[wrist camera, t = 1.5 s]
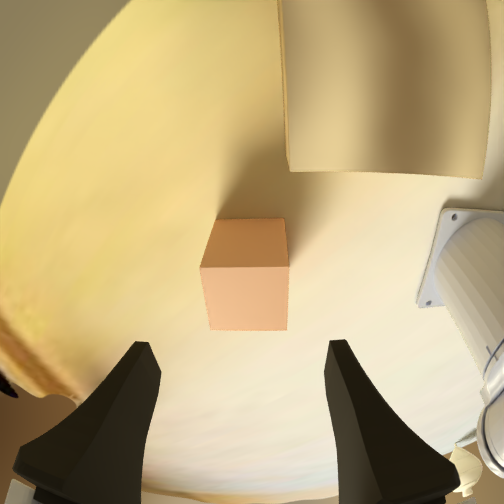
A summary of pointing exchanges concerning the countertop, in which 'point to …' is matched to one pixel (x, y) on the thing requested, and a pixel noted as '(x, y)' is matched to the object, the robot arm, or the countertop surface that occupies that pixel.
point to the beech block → (386, 85)
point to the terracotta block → (246, 275)
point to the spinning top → (466, 469)
